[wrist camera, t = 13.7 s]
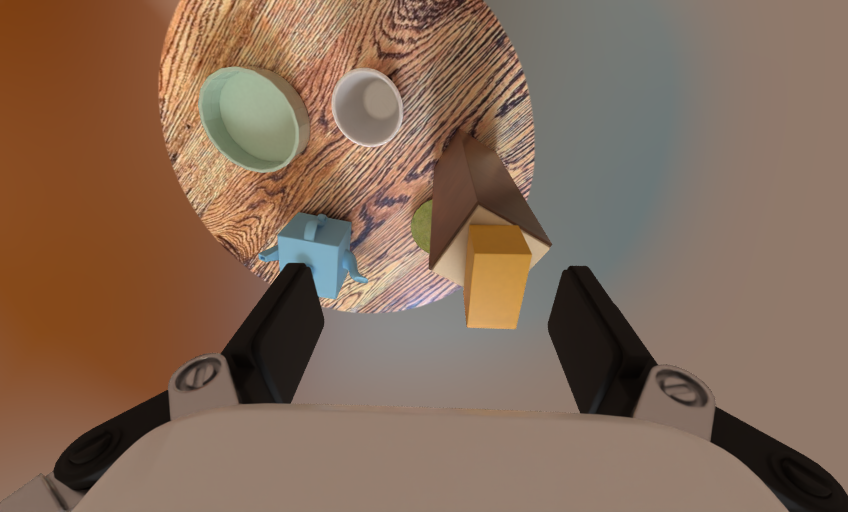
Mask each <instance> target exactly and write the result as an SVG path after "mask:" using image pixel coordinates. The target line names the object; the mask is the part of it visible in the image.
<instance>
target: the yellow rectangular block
mask: <svg viewBox="0 0 848 512" xmlns="http://www.w3.org/2000/svg"><path fill="white" fill-rule="evenodd" d="M531 258H532V253H531V251H530V249H529V246H528V244H527V242H526V240H525V238H524V236H523V234H522V232H521V230H520V227H519V226H518V225H469V233H468V245H467V256H466V268H465V280H464V291H463V295H464V305H465V315H466V325H467V328H499V329H516V326H517V322H518V317H519V312H520V307H521V303H522V299H523V294H524V290H525V285H526V281H527V276H528V272H529V267H530V263H531Z"/></svg>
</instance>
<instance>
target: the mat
mask: <svg viewBox="0 0 848 512" xmlns="http://www.w3.org/2000/svg"><path fill="white" fill-rule="evenodd" d="M431 217H432V200H430V201H428V202H426V203H424V204H423V205H421V207H420V208H418V210H417V211H416V212H415V214H414V216H413V219H412V222H411V232H412V235H413V238H414V240H415V242H416V243H417V245H418V246H419V247H420V248H421V249H423V250H424V251H426V252H428V253H430V236H431Z"/></svg>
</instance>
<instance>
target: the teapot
mask: <svg viewBox="0 0 848 512" xmlns="http://www.w3.org/2000/svg"><path fill="white" fill-rule="evenodd" d="M351 224H352V222H348V221H343V220H337V219H332V218H327V216H326V215H324V214H318V216H316V215H311V214H306V213H300V212H298V213H297V214H296V215H295V216H294V217H293V219H292V220H291V221H290V222H289V223H288V224H287V225H286V226H285V227H284V228H283V229H282V230H281V232H280V233H279V234H278V235H277V236H278V245H276V246H274V247H272V248H270V249H267V250H265V251H263V252H261V253H259V254H258V255H259V260H262V261H265V262H268V261H275V260H279V265H280V272H281V271H282V269H283V268H284V267H285V265H286V264H287V263H305V264H306V266H307V267H310V268H311V271H312V275H313V279H314V282H315V286H316V290H317V294H318V297H325V298H331V299H336V298H337V296H338V294H339V292H340V289H341V287H342V285H343V282H344V280H345V278H346V275H347V273H348V270H349V273H350V276H351V278H352V279H353V280H355V281H357V282H360V283H367V282H368V279H366V278H365V277H363V276H362V275H360V274H359V272H358V269H357V261H356V258H355V256H354V254H353V253H352V252H350V238H351Z"/></svg>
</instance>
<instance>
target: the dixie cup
mask: <svg viewBox="0 0 848 512" xmlns="http://www.w3.org/2000/svg"><path fill="white" fill-rule="evenodd" d="M332 112H333V116H334V119H335V122H336V124H337V126H338V127H339V129H340V130H341V132H342V133H343V134H344V135H345V136H346V137H347V138H348V139H350V140H351V141H353V142H354V143H356V144H359V145H362V146H366V147H376V146H380V145H383V144H385V143H387V142H389V141H390V140H391V139H392V138H393V137H394V136H395V135H396V134H397V132H398V131H399V129H400V126H401V124H402V120H403V103H402V99H401V96H400V93H399V91H398V89H397V87H396V86H395V84H394V83H393V82H392V81H391V80H390V79H389V78H388V77H387V76H386V75H384V74H383V73H381V72H379V71H377V70H375V69H371V68H357V69H353V70H351V71H349V72H347V73H346V74H344V75H343V76H342V77H341V78H340V79H339V81H338V82H337V84H336V86H335V88H334V91H333V94H332Z"/></svg>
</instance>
